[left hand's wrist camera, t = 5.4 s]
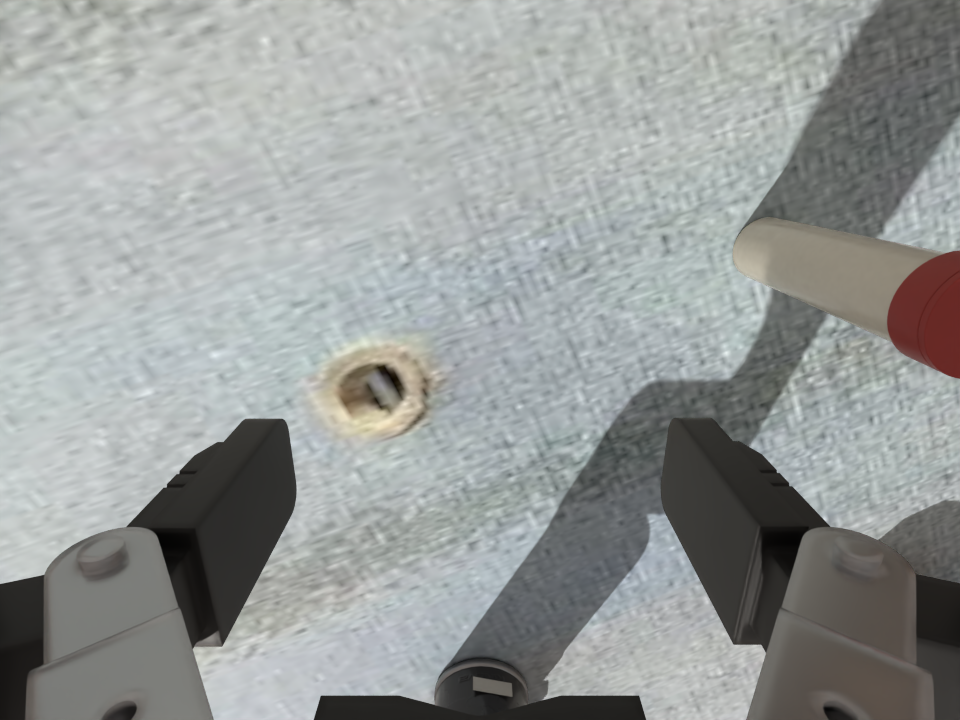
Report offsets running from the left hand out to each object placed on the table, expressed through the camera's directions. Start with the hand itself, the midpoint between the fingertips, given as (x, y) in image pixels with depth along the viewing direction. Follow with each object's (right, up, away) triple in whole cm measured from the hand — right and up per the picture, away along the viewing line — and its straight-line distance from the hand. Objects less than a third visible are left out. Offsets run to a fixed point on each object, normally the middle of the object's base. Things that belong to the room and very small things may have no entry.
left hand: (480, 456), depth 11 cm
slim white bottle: (+20, +10, +28) cm, 36 cm away
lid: (+20, +4, +11) cm, 23 cm away
